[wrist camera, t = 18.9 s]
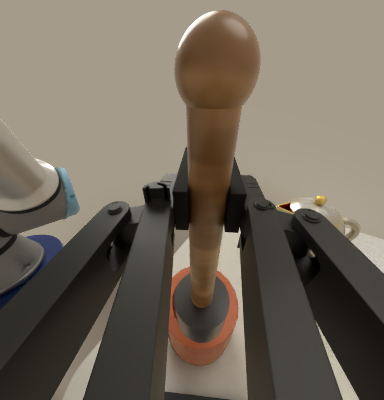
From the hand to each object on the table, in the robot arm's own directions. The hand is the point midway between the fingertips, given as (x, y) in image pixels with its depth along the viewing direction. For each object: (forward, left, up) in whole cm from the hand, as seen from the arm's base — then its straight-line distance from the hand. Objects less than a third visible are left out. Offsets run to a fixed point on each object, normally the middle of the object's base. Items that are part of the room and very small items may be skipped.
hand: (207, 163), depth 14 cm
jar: (+2, -2, -30) cm, 30 cm away
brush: (+4, -4, -16) cm, 17 cm away
